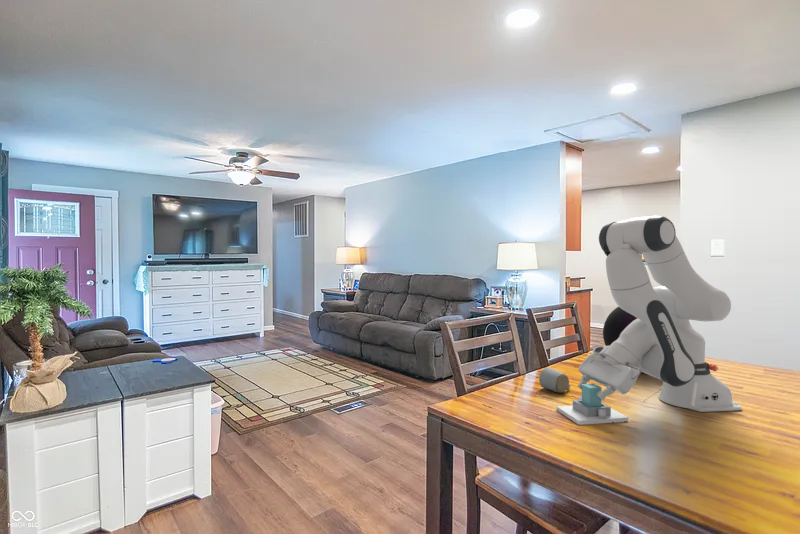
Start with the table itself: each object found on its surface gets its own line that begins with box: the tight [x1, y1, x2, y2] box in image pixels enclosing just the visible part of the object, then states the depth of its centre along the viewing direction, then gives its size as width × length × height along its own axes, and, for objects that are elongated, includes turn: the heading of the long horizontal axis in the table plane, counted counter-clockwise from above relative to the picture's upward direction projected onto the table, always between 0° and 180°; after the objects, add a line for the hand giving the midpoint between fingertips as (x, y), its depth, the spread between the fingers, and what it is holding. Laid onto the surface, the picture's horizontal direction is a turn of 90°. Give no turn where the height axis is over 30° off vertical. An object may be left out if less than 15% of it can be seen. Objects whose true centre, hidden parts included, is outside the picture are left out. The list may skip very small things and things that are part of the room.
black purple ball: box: [602, 306, 637, 346], centre depth 182 cm, size 30×30×30 cm
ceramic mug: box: [538, 367, 571, 394], centre depth 153 cm, size 11×8×8 cm
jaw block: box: [581, 383, 603, 407], centre depth 127 cm, size 4×4×8 cm
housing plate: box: [556, 396, 629, 426], centre depth 127 cm, size 16×12×4 cm
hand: (589, 392), depth 127 cm, fingers open, 8 cm apart
